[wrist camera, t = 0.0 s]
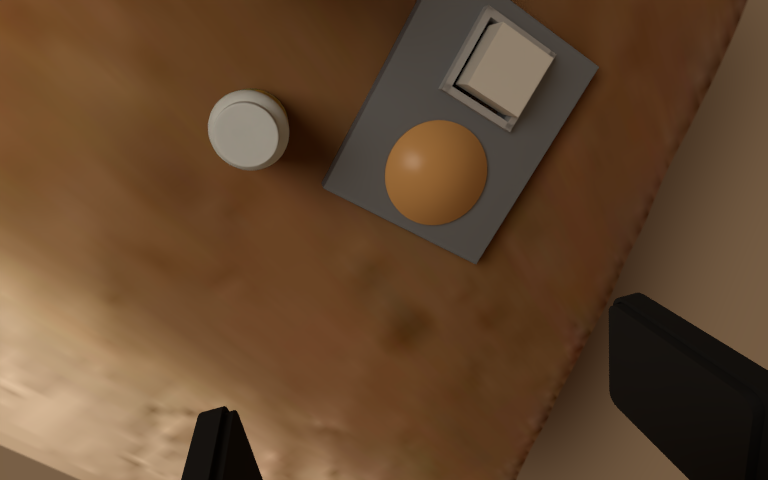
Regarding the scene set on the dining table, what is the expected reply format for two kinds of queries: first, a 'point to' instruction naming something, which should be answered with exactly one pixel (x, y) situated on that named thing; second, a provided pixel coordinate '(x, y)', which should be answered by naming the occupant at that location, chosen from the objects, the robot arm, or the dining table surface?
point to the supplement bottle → (249, 129)
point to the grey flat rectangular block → (452, 128)
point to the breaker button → (504, 69)
